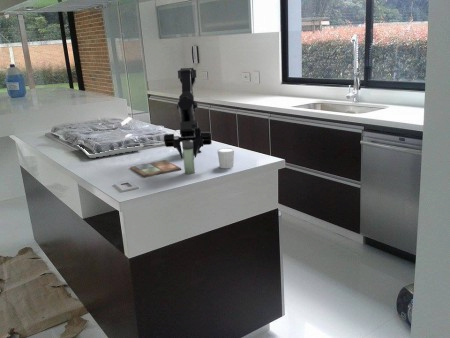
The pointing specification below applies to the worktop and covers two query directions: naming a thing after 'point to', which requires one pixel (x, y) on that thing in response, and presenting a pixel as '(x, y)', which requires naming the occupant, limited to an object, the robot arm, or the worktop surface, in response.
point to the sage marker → (188, 156)
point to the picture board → (155, 168)
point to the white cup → (226, 157)
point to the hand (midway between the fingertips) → (188, 157)
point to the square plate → (112, 151)
